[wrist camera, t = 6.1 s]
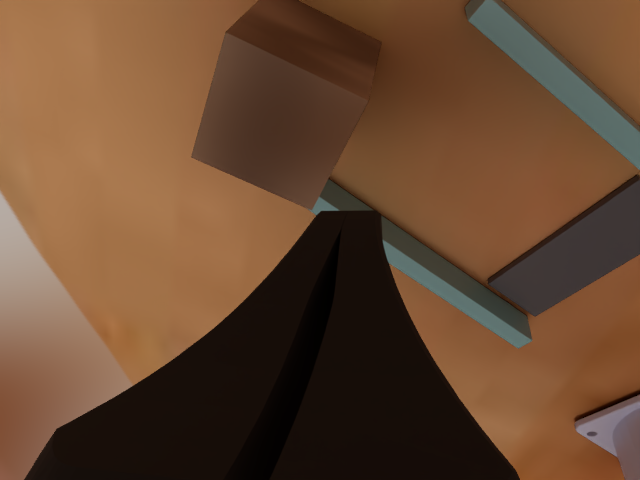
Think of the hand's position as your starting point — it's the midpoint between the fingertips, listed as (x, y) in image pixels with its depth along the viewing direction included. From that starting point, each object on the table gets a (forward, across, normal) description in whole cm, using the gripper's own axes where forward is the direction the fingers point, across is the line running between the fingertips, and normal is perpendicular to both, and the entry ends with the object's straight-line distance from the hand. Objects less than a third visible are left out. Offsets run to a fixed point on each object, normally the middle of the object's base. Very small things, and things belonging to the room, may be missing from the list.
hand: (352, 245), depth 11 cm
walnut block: (+9, +2, -1) cm, 9 cm away
